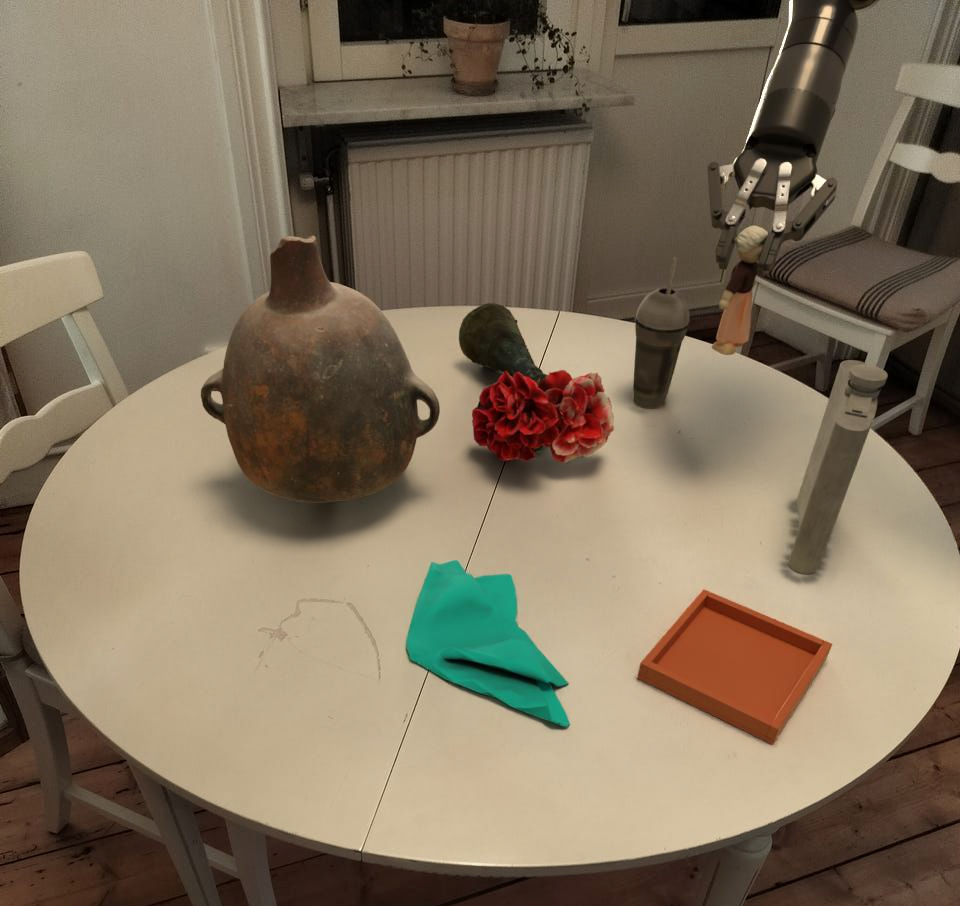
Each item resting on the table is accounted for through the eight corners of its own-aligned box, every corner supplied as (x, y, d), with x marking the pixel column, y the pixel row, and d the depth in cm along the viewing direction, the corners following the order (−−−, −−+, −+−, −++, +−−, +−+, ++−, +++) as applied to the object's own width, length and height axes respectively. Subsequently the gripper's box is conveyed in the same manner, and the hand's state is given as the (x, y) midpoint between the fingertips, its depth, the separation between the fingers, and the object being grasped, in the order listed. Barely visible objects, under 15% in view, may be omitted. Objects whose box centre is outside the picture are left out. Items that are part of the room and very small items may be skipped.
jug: (397, 429, 115) (384, 184, 94) (456, 516, 101) (456, 249, 80) (212, 464, 108) (155, 208, 87) (247, 563, 93) (188, 284, 73)
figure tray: (826, 659, 84) (832, 643, 83) (772, 744, 76) (778, 729, 75) (699, 603, 90) (703, 588, 88) (636, 678, 82) (640, 662, 80)
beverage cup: (668, 388, 125) (694, 244, 111) (680, 412, 119) (708, 265, 106) (618, 388, 124) (638, 244, 111) (628, 413, 119) (650, 265, 105)
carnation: (478, 411, 134) (577, 525, 109) (386, 348, 123) (474, 459, 98) (541, 326, 129) (660, 425, 104) (452, 252, 118) (562, 343, 93)
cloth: (382, 573, 93) (380, 556, 91) (503, 553, 96) (504, 536, 94) (440, 755, 74) (439, 738, 73) (588, 724, 77) (591, 707, 76)
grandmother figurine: (738, 362, 94) (767, 240, 85) (704, 354, 95) (729, 234, 86) (753, 334, 99) (782, 217, 90) (720, 328, 100) (745, 212, 91)
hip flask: (797, 494, 105) (848, 335, 91) (831, 500, 104) (888, 341, 91) (786, 570, 94) (843, 403, 80) (825, 578, 93) (888, 410, 79)
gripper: (726, 78, 88) (672, 239, 88) (870, 92, 83) (812, 262, 84) (729, 125, 95) (678, 275, 95) (861, 141, 90) (808, 298, 91)
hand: (741, 268), depth 89 cm, fingers closed on grandmother figurine, 3 cm apart
